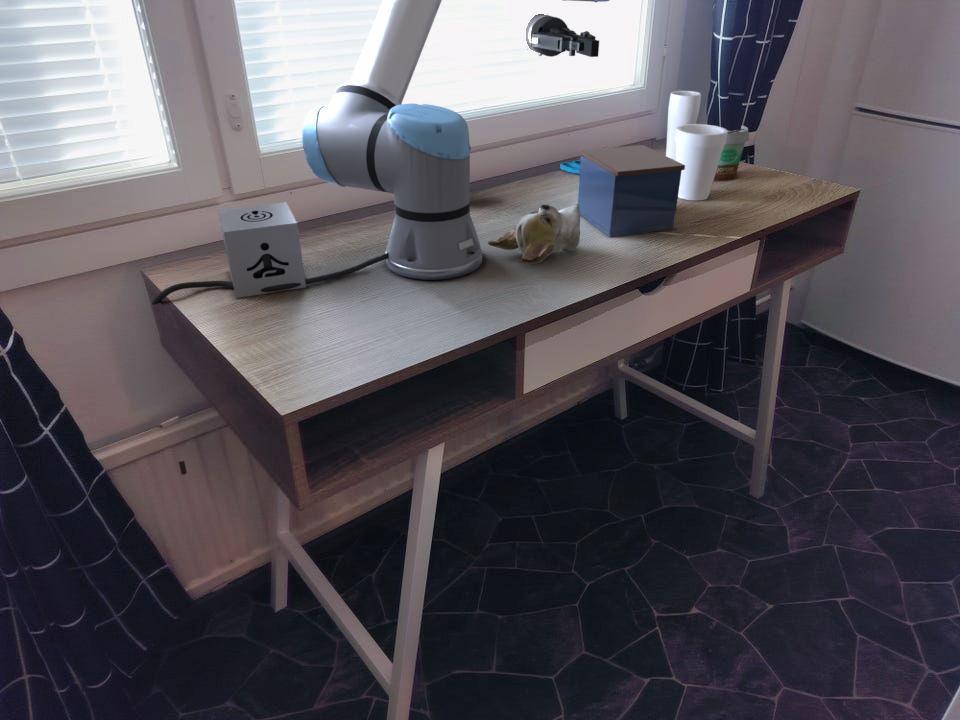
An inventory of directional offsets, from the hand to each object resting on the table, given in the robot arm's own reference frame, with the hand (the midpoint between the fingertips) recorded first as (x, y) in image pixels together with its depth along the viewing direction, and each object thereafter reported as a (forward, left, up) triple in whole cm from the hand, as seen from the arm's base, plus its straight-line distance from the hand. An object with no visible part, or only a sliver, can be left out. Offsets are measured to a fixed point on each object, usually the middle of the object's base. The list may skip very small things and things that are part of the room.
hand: (595, 48), depth 131 cm
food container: (+33, +1, -27) cm, 43 cm away
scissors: (+8, +10, -27) cm, 30 cm away
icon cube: (-64, -24, -27) cm, 74 cm away
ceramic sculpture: (-21, -28, -27) cm, 44 cm away
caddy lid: (0, -17, -16) cm, 24 cm away
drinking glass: (+31, +16, -27) cm, 44 cm away
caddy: (0, -17, -27) cm, 32 cm away
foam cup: (+20, -8, -27) cm, 35 cm away
